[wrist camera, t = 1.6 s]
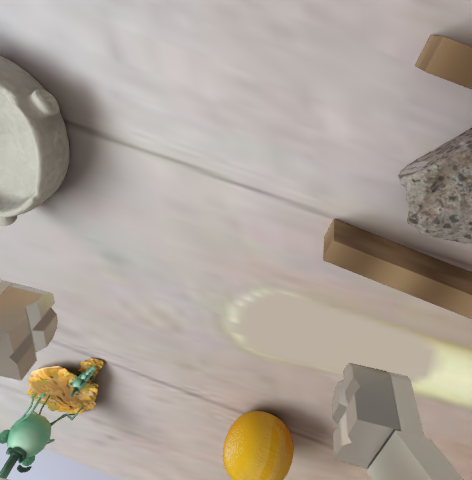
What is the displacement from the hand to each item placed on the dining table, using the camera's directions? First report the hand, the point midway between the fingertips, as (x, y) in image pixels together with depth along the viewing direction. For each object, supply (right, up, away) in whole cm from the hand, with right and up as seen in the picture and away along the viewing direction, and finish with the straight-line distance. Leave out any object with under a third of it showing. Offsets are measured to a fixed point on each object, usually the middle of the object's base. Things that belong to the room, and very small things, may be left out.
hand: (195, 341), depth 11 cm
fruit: (+5, -20, +39) cm, 44 cm away
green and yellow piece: (-22, -18, +45) cm, 53 cm away
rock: (+19, +8, +20) cm, 29 cm away
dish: (-20, +14, +26) cm, 36 cm away
